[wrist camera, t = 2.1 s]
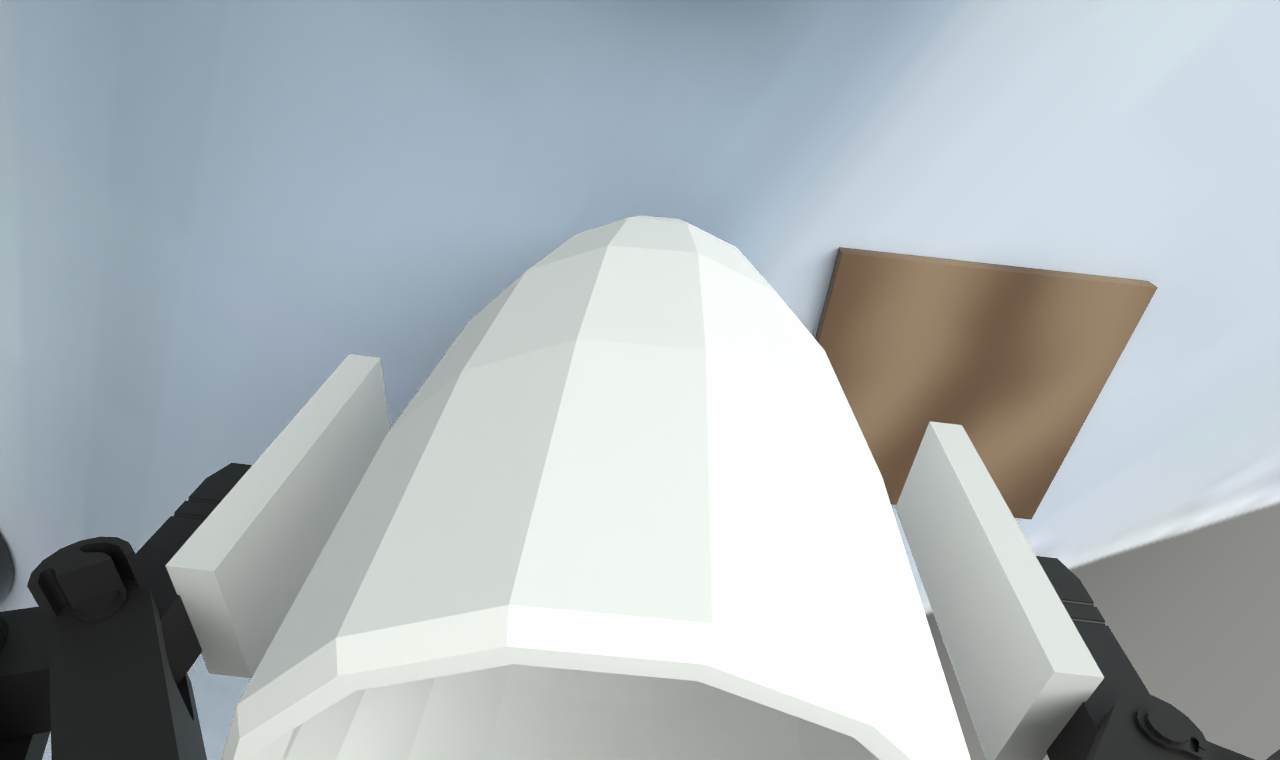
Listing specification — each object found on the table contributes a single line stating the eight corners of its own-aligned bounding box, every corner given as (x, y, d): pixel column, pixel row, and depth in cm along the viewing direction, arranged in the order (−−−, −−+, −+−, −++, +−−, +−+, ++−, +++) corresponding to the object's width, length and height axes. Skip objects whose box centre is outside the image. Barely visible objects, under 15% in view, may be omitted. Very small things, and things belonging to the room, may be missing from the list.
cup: (613, 400, 31) (504, 1052, 12) (473, 201, 26) (-20, 767, 8) (832, 300, 27) (1119, 981, 9) (715, 53, 23) (826, 434, 5)
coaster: (777, 483, 33) (779, 491, 32) (839, 247, 26) (842, 253, 26) (1025, 510, 33) (1031, 519, 32) (1148, 281, 26) (1157, 287, 26)
